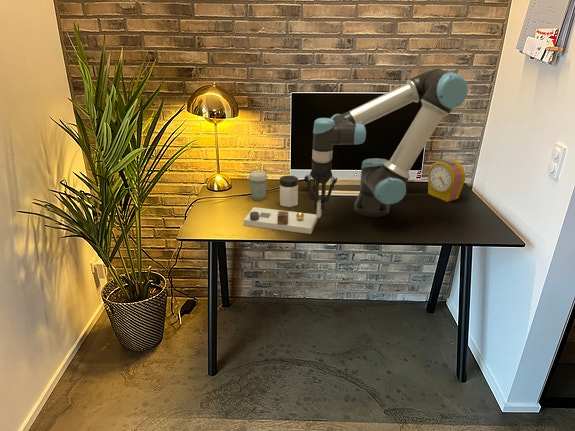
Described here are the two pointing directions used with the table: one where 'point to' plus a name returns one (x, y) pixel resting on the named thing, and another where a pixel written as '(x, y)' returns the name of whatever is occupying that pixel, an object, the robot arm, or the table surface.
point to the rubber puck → (254, 216)
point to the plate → (270, 221)
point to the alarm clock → (446, 179)
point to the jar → (288, 191)
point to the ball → (300, 216)
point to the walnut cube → (282, 218)
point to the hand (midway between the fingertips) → (318, 216)
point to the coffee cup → (258, 184)
